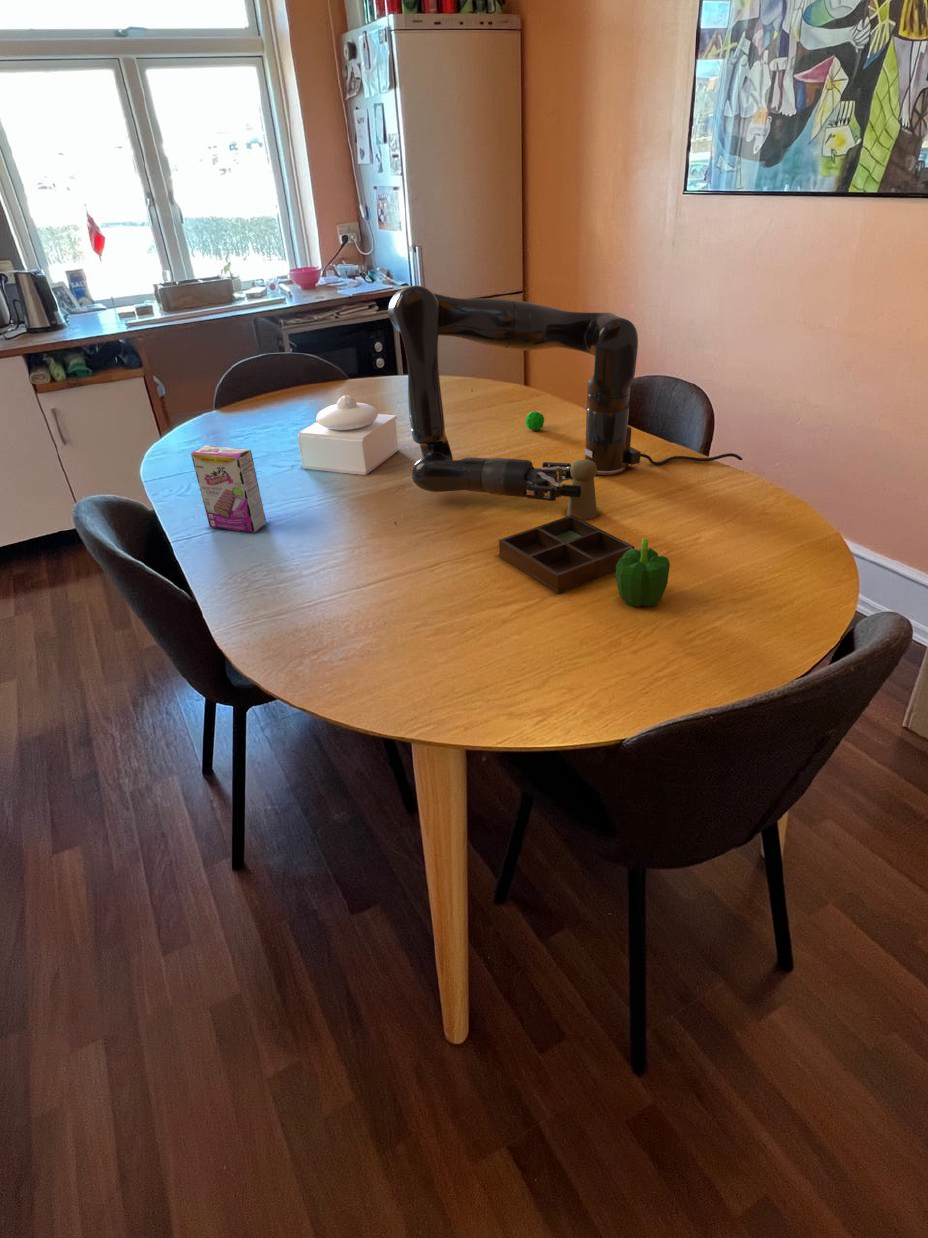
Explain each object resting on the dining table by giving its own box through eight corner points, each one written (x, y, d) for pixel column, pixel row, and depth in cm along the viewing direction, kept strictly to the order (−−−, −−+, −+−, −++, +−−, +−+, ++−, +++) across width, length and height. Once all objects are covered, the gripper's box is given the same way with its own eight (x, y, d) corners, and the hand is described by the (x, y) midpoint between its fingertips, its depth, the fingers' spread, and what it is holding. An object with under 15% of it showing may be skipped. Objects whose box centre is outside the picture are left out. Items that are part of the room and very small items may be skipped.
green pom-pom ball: (547, 428, 197) (547, 410, 195) (538, 433, 194) (538, 415, 191) (530, 425, 200) (530, 408, 197) (522, 431, 196) (521, 413, 194)
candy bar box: (208, 529, 154) (188, 452, 145) (222, 519, 158) (204, 444, 149) (254, 534, 151) (237, 456, 142) (268, 524, 155) (251, 447, 146)
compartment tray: (571, 531, 144) (571, 514, 142) (633, 563, 132) (634, 546, 130) (499, 556, 137) (498, 539, 135) (557, 593, 125) (558, 575, 123)
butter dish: (302, 468, 181) (291, 403, 173) (340, 444, 195) (331, 382, 187) (366, 475, 175) (357, 408, 167) (399, 449, 189) (393, 386, 181)
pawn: (596, 520, 148) (598, 467, 142) (565, 519, 149) (567, 466, 143) (597, 507, 153) (600, 456, 147) (568, 506, 154) (569, 455, 148)
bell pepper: (656, 618, 117) (661, 562, 111) (607, 606, 120) (610, 551, 115) (673, 594, 122) (680, 539, 117) (626, 583, 126) (630, 529, 121)
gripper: (496, 472, 145) (578, 478, 140) (516, 447, 156) (593, 452, 151) (497, 507, 149) (577, 515, 144) (517, 481, 160) (591, 487, 155)
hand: (585, 483), depth 147 cm, fingers open, 8 cm apart
